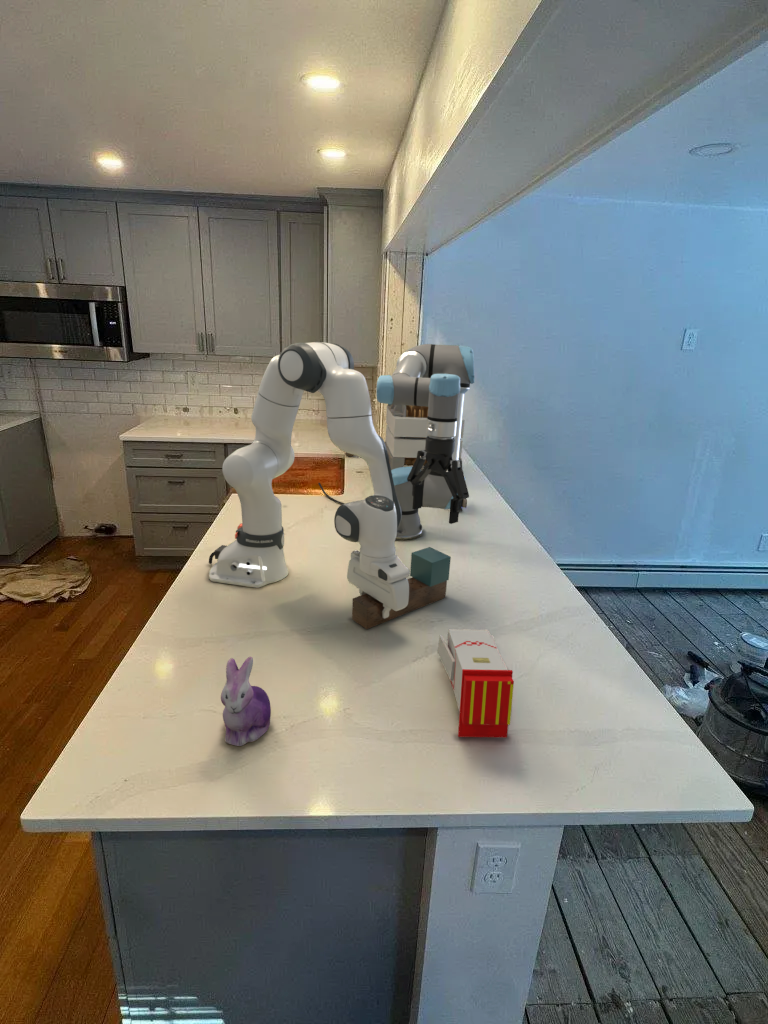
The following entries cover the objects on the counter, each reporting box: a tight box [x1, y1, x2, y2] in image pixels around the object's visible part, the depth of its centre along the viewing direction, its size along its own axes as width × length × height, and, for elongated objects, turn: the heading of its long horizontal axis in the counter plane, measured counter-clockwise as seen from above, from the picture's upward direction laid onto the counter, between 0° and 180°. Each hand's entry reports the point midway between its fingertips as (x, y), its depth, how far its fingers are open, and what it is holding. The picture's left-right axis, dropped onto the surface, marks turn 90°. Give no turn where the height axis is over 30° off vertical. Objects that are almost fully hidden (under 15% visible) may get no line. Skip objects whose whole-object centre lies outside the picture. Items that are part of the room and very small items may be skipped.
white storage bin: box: [384, 404, 465, 470], centre depth 268 cm, size 34×33×41 cm
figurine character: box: [460, 498, 468, 512], centre depth 228 cm, size 7×8×15 cm
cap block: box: [409, 546, 452, 587], centre depth 154 cm, size 7×8×7 cm
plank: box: [351, 577, 448, 630], centre depth 150 cm, size 28×6×6 cm, turn 130°
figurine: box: [220, 656, 272, 747], centre depth 102 cm, size 9×10×15 cm
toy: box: [437, 628, 515, 738], centre depth 117 cm, size 12×13×30 cm
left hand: (375, 610), depth 144 cm, fingers closed on plank, 6 cm apart
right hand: (434, 515), depth 151 cm, fingers open, 13 cm apart
